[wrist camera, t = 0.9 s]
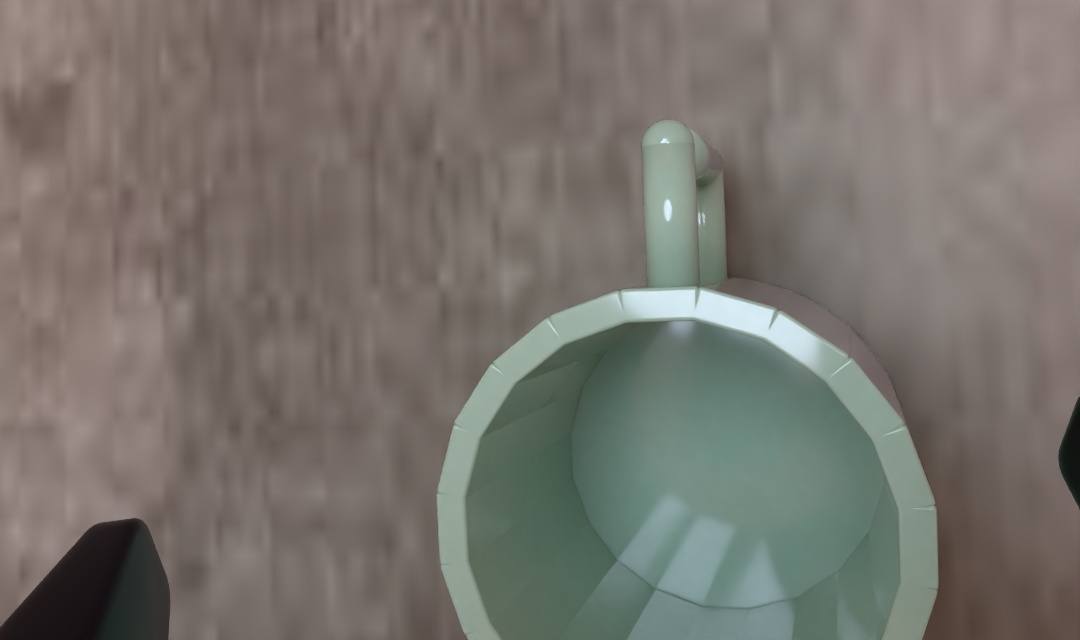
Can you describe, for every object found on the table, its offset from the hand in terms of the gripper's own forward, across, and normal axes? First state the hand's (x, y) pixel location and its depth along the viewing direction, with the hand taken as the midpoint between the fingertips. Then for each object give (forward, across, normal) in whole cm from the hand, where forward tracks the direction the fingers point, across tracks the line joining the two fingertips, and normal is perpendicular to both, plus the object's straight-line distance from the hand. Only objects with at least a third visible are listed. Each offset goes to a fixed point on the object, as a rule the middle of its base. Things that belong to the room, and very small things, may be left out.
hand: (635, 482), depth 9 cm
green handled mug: (+12, -5, +9) cm, 16 cm away
